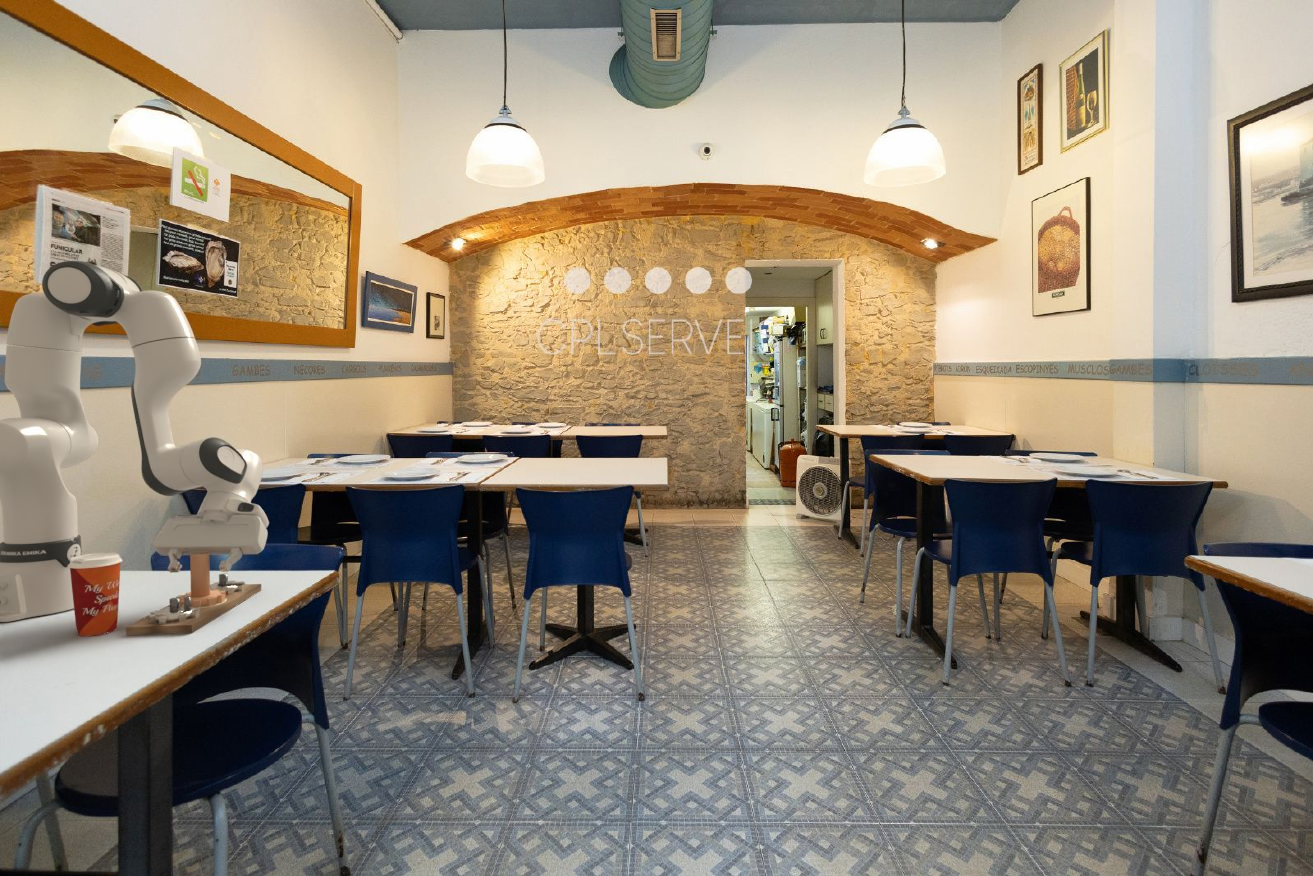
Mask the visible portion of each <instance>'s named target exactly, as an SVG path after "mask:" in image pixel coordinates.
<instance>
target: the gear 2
mask: <svg viewBox="0 0 1313 876" xmlns="http://www.w3.org/2000/svg"><path fill="white" fill-rule="evenodd" d="M228 577H229V573H220V574H219V575H218V581H216V582H215V581H214V582H213V583H210V591H213V590H220V592H221V591H225V592H226V594H228V595H229V594H234V592H237V591H243V590H244V587H245V584H246V583H245V581H236V580H229V578H228Z"/></svg>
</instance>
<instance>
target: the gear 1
mask: <svg viewBox="0 0 1313 876" xmlns="http://www.w3.org/2000/svg"><path fill="white" fill-rule="evenodd" d="M169 605H170V607H166V606H165V608H164V607H163V608H164V609H163V608H161V609H162V610H161V609H159V610H153V611H151V612H150V613H149V615H148V616H149V622H150V623H154V622H158V623H159V624H167V623H170V622H183V621H186V619H190V618H196V617H198V616H199V613H200V606H194V607H193V606H191V597H184V605H183V606H180V598H179V597H177V596H175V597H171V598H169Z"/></svg>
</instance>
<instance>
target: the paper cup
mask: <svg viewBox="0 0 1313 876" xmlns="http://www.w3.org/2000/svg"><path fill="white" fill-rule="evenodd" d="M122 562H123V559H122V558H121V555H120V554H119V553H118V552H109V551H107V552H106V551H105V552H104V551H103V552H94V553H86V554H85V553H84V554H81V555H80V556H76V557H73V558H71V560H70V564H68V566H67V567H68V568H70V574H71V583H72V593H73V603H74V608H73V610H74V620H75V621H74V622H75V627H76V635H77V636H79V637H94V636H95V637H96V636H100V635H105V634H108V633H107V632H109V633H111V631H112V632H114V631H116V630H117V628H118V617H119V599H120V579H121V577H120V576H121V563H122ZM115 629H116V630H115ZM113 630H114V631H113ZM104 633H105V634H104Z"/></svg>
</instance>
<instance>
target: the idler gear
mask: <svg viewBox="0 0 1313 876" xmlns="http://www.w3.org/2000/svg"><path fill="white" fill-rule="evenodd" d="M189 559H190V561H189V563H190V564H189V565H190V567H189V568H190V570H189V571H190V592H186V593H185V594H180V595H177V596H176V597H179V598H180V606H183V605H184V597H191V606H193V607H194V606H200V608H201V607H205V606H209V607H210V606H214V605H216V604H217V603H223V602H224V601H225V599H226V592H225V591H221V592H220V590H213V591H210V585H211V579H210V578H211V574H210V573H211V572H210V570H211V569H210V561H211V560H210V555H209V553H206V552H203V553H194V554H191V555H189Z"/></svg>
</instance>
